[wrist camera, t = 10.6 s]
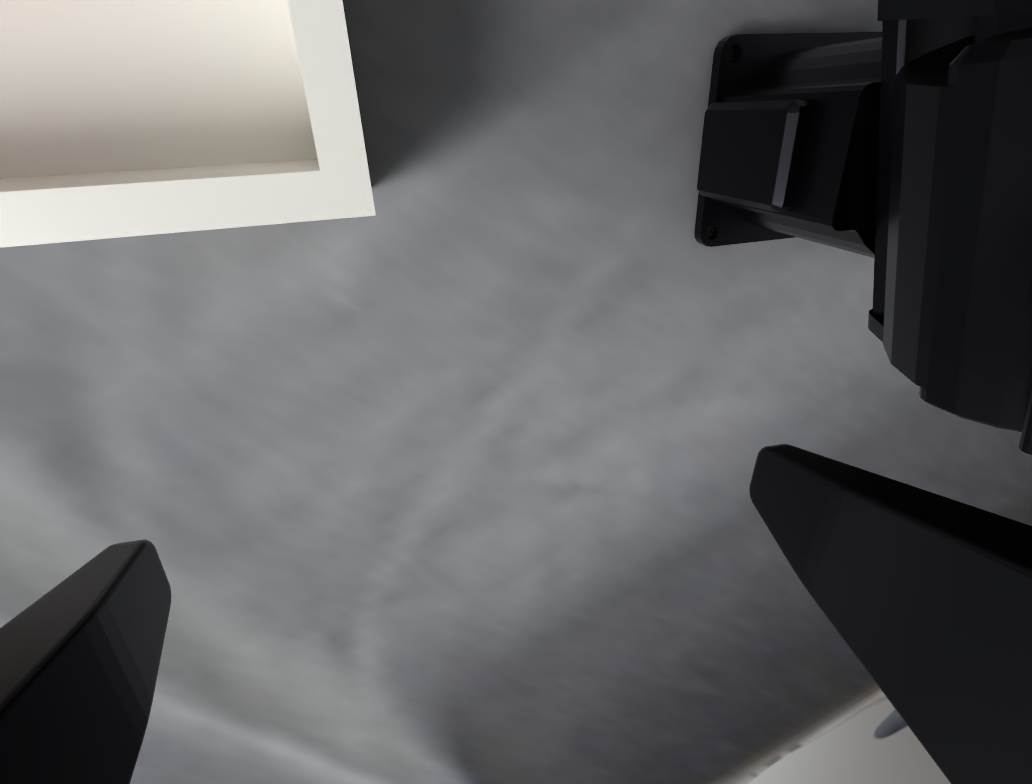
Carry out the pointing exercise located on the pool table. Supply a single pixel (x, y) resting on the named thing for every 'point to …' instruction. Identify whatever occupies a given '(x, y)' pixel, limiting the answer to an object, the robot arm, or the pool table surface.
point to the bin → (175, 117)
